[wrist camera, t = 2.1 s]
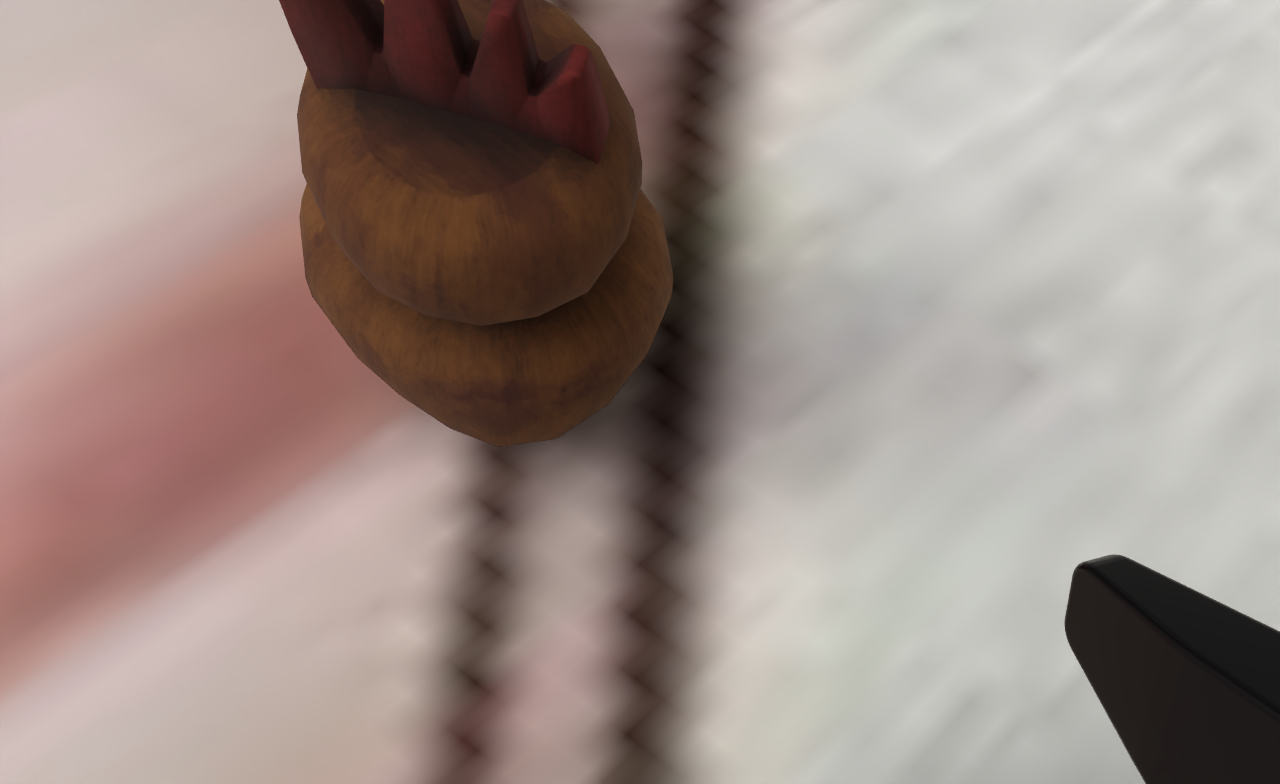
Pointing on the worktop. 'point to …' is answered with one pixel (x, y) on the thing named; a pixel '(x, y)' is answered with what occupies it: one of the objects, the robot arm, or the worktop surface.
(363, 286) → the wooden figurine
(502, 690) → the worktop surface
